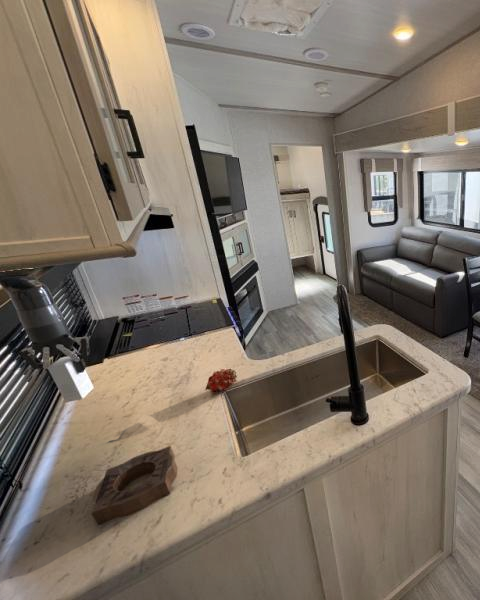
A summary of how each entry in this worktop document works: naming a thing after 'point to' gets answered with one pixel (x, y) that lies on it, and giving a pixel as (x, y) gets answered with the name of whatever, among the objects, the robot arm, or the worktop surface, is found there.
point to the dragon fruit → (221, 380)
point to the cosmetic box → (70, 379)
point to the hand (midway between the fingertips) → (69, 374)
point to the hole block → (124, 503)
